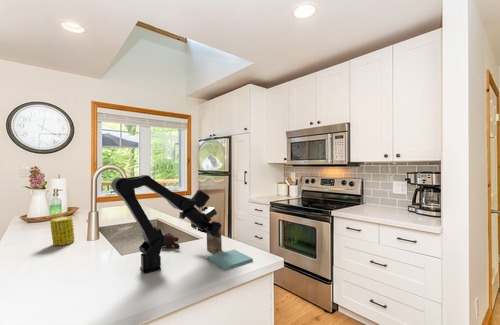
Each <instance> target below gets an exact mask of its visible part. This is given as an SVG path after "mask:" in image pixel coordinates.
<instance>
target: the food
mask: <svg viewBox="0 0 500 325" xmlns="http://www.w3.org/2000/svg"><path fill="white" fill-rule="evenodd" d="M50 230H51V231H50V232H51V240H52V245H54V246H65V245H69V244H72V243H74V242H75V238H76V237H75V228H74V222H73V217H72V216H62V215H60V217H59V216H57V217H55V218H54V217H53V218H52V219H50Z"/></svg>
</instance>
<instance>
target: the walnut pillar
mask: <svg viewBox="0 0 500 325" xmlns="http://www.w3.org/2000/svg"><path fill="white" fill-rule="evenodd" d="M207 229H208V228H207ZM218 232H219V234H220V237H219V238H218V237H215V236H210V235H208V233H206V250H207V251H209V252H211V253H213V254H214V253H217V252H220V251H222V250H223V248H222V242H223V241H222V226H221V227H220V229H219V230H218Z"/></svg>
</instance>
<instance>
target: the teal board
mask: <svg viewBox="0 0 500 325" xmlns="http://www.w3.org/2000/svg"><path fill="white" fill-rule="evenodd" d="M206 259H207V260H208V261H209V262H210V263H213V265H215V266H217V267H219V268H220V269H222V270H223V271H226V270H229V269H232V268H235V267H239V266H241V265H244V264H249V263H251V262H253V261H254V259H253V257H250V256H248V255H247V254H244V253H243V252H240V251H238V250H237V249H230V250H227V251H224V252H220V253H216V254H213V255H209V256H206Z"/></svg>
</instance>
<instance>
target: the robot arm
mask: <svg viewBox="0 0 500 325" xmlns="http://www.w3.org/2000/svg"><path fill="white" fill-rule="evenodd" d="M140 187H141V188H142V187H145V188H147V189H149V190H150V191H152V192H153V193H155V194H156V195H157V196H160V197H161V198H163V199H165V201H166V202H168V204H169V205H170V206H171V207H172V208H173V209H175V210H179V211H180V212H179V217H178V218H180V219H182V220H184V219H186V218H187V220H189V221H190V227H191V228H192V230H197V231H198V232H200V233H204V234H207V233H208V235H210V236H215V237H218V238H219V237H220V234H219V232H218V230H219V229H220V227H221V228H222V223H221V222H220V221H217V220H214V221H212V217H214V216H216V215H217V214H218V212H217V210H216V208H215V207H213V206H205V205H206V204H207V203H208V201H209V200H210V199H211V198H210V196H209V194H207V193H205V192H204V191H202V190H201V189H197V190H196V192H195V194H194V195H193V196H192V197H191V198H190V197H189V198H188V197H186V196H184V195H181V194H178V193H175V192H174V191H172V190H170V189H169V188H167V187H166V186H164V185H163V184H161V183H159V182H158V181H156V180H155V179H154V178H152V177H151V176H150V175H148V174H147V175H146V174H141V175H137V176H133V177H122V176H117V177H115V178H114V179H113V180H112V181H111V184H110V188H111V189H112V191H113V192H114V193H115V194H116V195H117V196H118V197H119V198H120V199H121V200H122V201H123V202H124V203H125V205H126V206H127V208H128V210H129V211H130V214H131V215H132V217H133V218H134V220H135V222H136V223H137V225H138V227H139V228H140V230H141V233H142V238H143V240H144V241H143V242H142V243H141V245H140V246H139V247H138V249H139V251H140V252H141V253H140V267H139V269H140V270H141V271H142V274H148V273H151V272H155V271H158V270H161V269H162V267H161V265H162V261H161V260H162V259H161V255H160V254H161V251H162V249H163V248H164V247H163V246H164V243H165V240H164V238H165V236H163V235H164V234H163V232H162V230H161V228H159V227H157V226H153V225H152V222H151V221H150V219H149V218H148V216H147V214H146V212H145V211H144V209H143V207H142V206H141V204H140V202H139V200H138V199H137V196H136V191H135V190H136V189H138V188H140ZM199 209H201V211H200V210H199ZM207 228H208V229H207Z"/></svg>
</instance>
